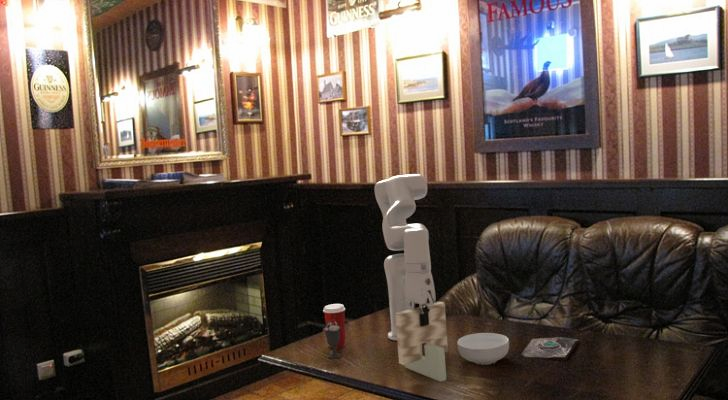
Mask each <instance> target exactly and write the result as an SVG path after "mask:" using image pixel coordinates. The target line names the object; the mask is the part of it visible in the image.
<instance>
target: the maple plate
mask: <svg viewBox="0 0 728 400" xmlns="http://www.w3.org/2000/svg"><path fill="white" fill-rule="evenodd" d="M445 303H446V302H442V301H435V302H434V303H433V304H434V307H433V308H431V309H430V312H429V313H428V315H429V325H426V326H423V327H422V326H420V316H419V314H421V313H420V307H417V308H413V309H409V310H405V311H402V312H398V313H395V317H396V330H397V341H396V342H397V343H396V344H397V352H398V353H397V354H398V355H397V356H398V364H400V365H402V366H405V365H406V364H409V363H412V362H415V361H419V360H421V353H420V344H422V345H423V344H425V345H427V344H433V345H436V346H439V347H442V348H444V352H445V353H446V352H449V346H448V333H447V329H448V328H447V319H446V304H445ZM424 307H425V306H424Z"/></svg>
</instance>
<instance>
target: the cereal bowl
mask: <svg viewBox="0 0 728 400" xmlns="http://www.w3.org/2000/svg"><path fill="white" fill-rule="evenodd" d="M456 344H457V349H458V352H459V355H460V356H461V358H463V359H464V360H466V361H469V362H472V363H473V362H474V363H473V364H475V363H476V364H475V365H479V364H481V365H480V366H487V365H492V363H493V364H495V363H497V361H499V360H502V359H503V358H505V357H506V356H507V354H508V352H509V349H510V340H509V338H508V337H507V336H506V335H504V334H501V333H500V334H499V333H495V332H479V333H471V334H466V335H464V336H461V337H460V338H459V339H458V340H457V343H456Z"/></svg>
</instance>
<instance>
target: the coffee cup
mask: <svg viewBox="0 0 728 400" xmlns="http://www.w3.org/2000/svg"><path fill="white" fill-rule="evenodd" d="M345 311H346V308H345V306H344V304H343V303H342V304H341V303H333V304H332V303H331V304H328V305H325V306H324V307H323V310H322V312H323V313H324V320H325V321H324V322H325V328H326V327H327V321H328V322H330V321H332V319H333V318H334V316H336V317H335V318H334V319H335V322H336V323H337V325H338V326H339V327H341V328H342V329H341V330H340V338H339V344H338V345H337V346H336V349H339V348H338V347H341V348H343V347H345V346H346V318H345V317H346V315H345ZM328 345H329V344H328ZM329 346H330V345H329ZM329 348H331V346H330V347H329Z"/></svg>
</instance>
